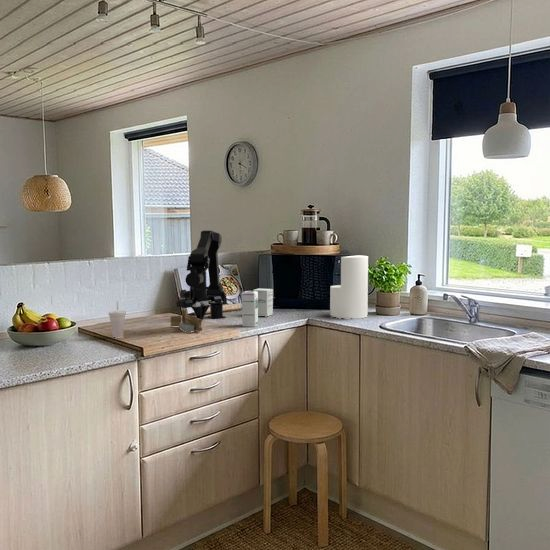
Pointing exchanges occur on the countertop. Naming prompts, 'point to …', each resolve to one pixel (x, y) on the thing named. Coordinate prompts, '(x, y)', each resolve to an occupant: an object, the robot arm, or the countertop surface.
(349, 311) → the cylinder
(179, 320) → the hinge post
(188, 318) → the gate
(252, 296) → the white miniature cabinet
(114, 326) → the smoothie
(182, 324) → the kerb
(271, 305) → the supplement box
